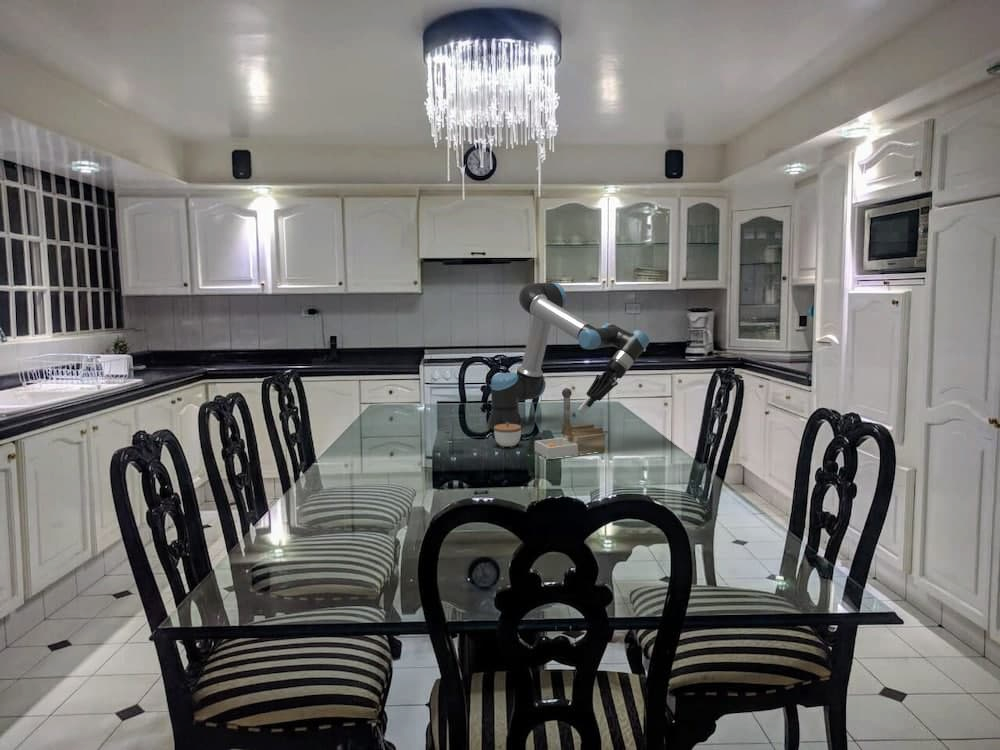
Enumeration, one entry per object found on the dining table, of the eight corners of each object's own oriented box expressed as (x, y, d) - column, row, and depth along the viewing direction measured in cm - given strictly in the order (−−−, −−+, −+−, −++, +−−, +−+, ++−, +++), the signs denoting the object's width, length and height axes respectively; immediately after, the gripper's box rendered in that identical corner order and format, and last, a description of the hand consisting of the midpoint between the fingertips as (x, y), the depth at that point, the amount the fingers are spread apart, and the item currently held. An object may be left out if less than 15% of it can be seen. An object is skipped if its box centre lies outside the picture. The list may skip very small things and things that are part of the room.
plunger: (559, 433, 275) (559, 387, 273) (568, 432, 277) (568, 386, 274) (565, 436, 271) (565, 389, 268) (574, 435, 273) (574, 388, 270)
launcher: (563, 449, 281) (563, 426, 279) (590, 445, 285) (590, 423, 284) (577, 455, 271) (577, 432, 269) (605, 452, 275) (605, 428, 274)
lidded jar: (498, 450, 281) (497, 426, 279) (491, 443, 291) (490, 420, 289) (524, 447, 284) (524, 424, 282) (516, 441, 294) (516, 418, 292)
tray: (534, 452, 276) (534, 440, 276) (562, 448, 281) (562, 437, 280) (549, 460, 266) (548, 448, 265) (577, 456, 270) (577, 444, 269)
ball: (554, 448, 275) (546, 454, 274) (549, 440, 274) (541, 446, 273) (559, 450, 271) (551, 457, 270) (554, 442, 270) (546, 449, 269)
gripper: (634, 373, 274) (595, 421, 270) (616, 369, 286) (578, 415, 282) (622, 360, 271) (583, 408, 267) (604, 356, 283) (566, 402, 279)
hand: (580, 411), depth 275 cm, fingers closed
